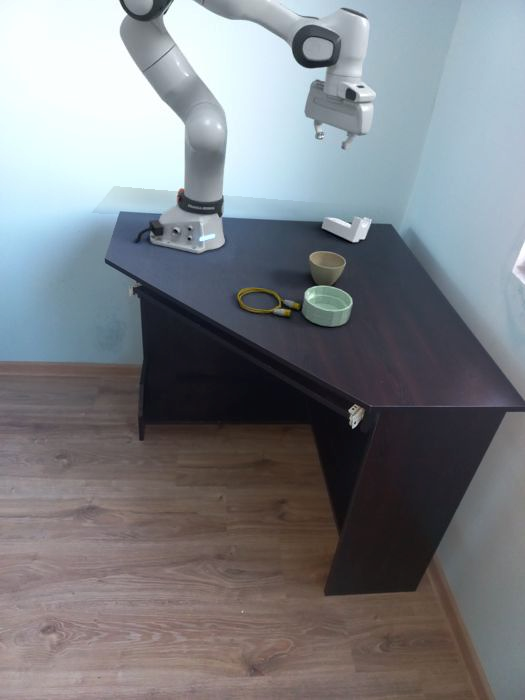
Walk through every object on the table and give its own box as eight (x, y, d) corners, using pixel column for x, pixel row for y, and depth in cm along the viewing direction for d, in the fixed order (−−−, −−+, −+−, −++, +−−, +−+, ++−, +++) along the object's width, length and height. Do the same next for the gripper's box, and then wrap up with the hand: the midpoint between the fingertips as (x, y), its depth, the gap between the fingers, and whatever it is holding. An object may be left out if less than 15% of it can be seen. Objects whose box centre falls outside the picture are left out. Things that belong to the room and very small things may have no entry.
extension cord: (268, 327, 129) (269, 320, 128) (227, 298, 138) (228, 291, 136) (303, 312, 136) (304, 305, 135) (262, 285, 145) (263, 279, 144)
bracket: (363, 242, 177) (372, 220, 174) (352, 242, 172) (361, 219, 168) (332, 228, 184) (340, 206, 180) (321, 227, 178) (328, 205, 175)
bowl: (301, 324, 131) (304, 307, 128) (301, 299, 141) (304, 283, 138) (349, 330, 131) (354, 313, 128) (346, 305, 141) (350, 288, 138)
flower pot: (340, 276, 154) (345, 253, 150) (341, 293, 146) (346, 270, 142) (306, 271, 154) (310, 248, 150) (305, 288, 146) (309, 265, 142)
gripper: (303, 78, 136) (296, 134, 145) (364, 96, 125) (352, 156, 133) (320, 77, 140) (312, 132, 148) (381, 95, 129) (368, 153, 137)
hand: (331, 144), depth 141 cm, fingers open, 8 cm apart
